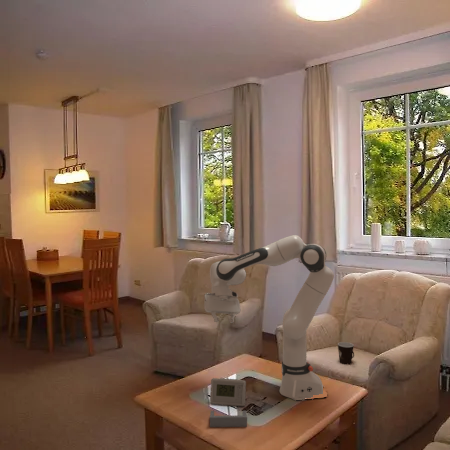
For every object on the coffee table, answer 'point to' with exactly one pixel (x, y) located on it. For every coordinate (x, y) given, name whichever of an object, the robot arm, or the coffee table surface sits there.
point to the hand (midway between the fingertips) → (224, 322)
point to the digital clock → (228, 392)
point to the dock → (228, 420)
